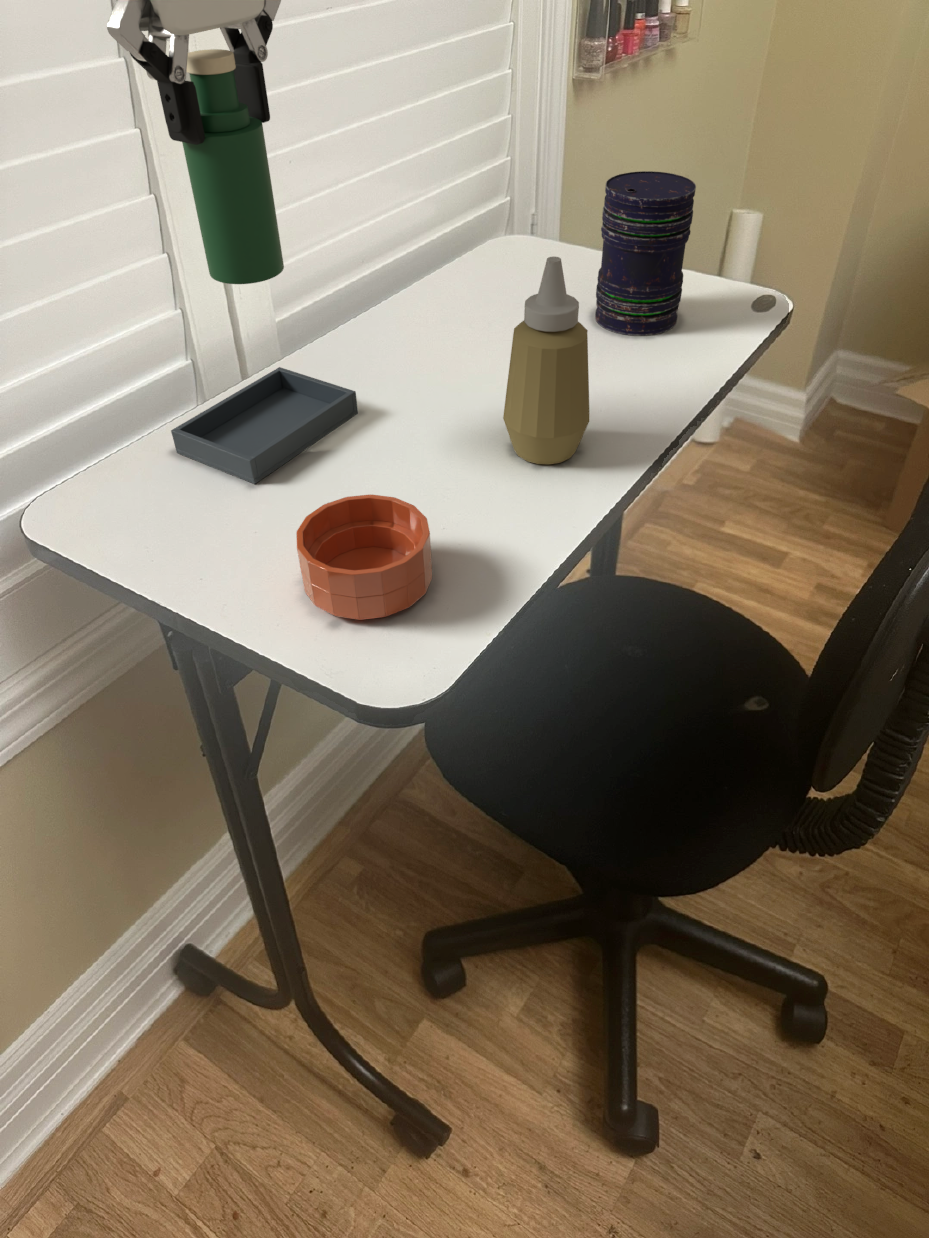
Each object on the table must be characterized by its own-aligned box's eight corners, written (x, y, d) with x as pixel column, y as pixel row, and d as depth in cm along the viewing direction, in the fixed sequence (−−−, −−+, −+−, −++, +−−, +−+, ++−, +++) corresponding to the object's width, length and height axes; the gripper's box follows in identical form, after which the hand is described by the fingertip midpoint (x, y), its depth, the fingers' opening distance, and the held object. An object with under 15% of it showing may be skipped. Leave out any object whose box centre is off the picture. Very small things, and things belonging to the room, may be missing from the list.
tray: (254, 484, 83) (250, 460, 81) (176, 453, 87) (170, 430, 85) (358, 413, 92) (355, 391, 90) (283, 388, 96) (279, 366, 95)
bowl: (306, 632, 68) (297, 580, 64) (304, 551, 75) (295, 501, 72) (439, 617, 69) (436, 565, 65) (423, 539, 76) (420, 489, 73)
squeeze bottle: (492, 465, 84) (493, 273, 72) (514, 423, 90) (518, 238, 78) (577, 478, 82) (593, 282, 70) (594, 434, 88) (611, 246, 76)
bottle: (207, 287, 74) (160, 65, 63) (212, 259, 78) (169, 48, 68) (283, 281, 74) (250, 60, 64) (284, 254, 79) (252, 44, 68)
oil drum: (637, 294, 113) (651, 165, 103) (695, 321, 107) (716, 186, 97) (576, 315, 109) (585, 183, 99) (633, 344, 103) (649, 206, 93)
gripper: (221, -185, 64) (263, 101, 76) (10, -179, 53) (98, 152, 65) (301, -187, 61) (332, 111, 73) (94, -181, 50) (170, 167, 62)
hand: (221, 128), depth 69 cm, fingers closed on bottle, 6 cm apart
